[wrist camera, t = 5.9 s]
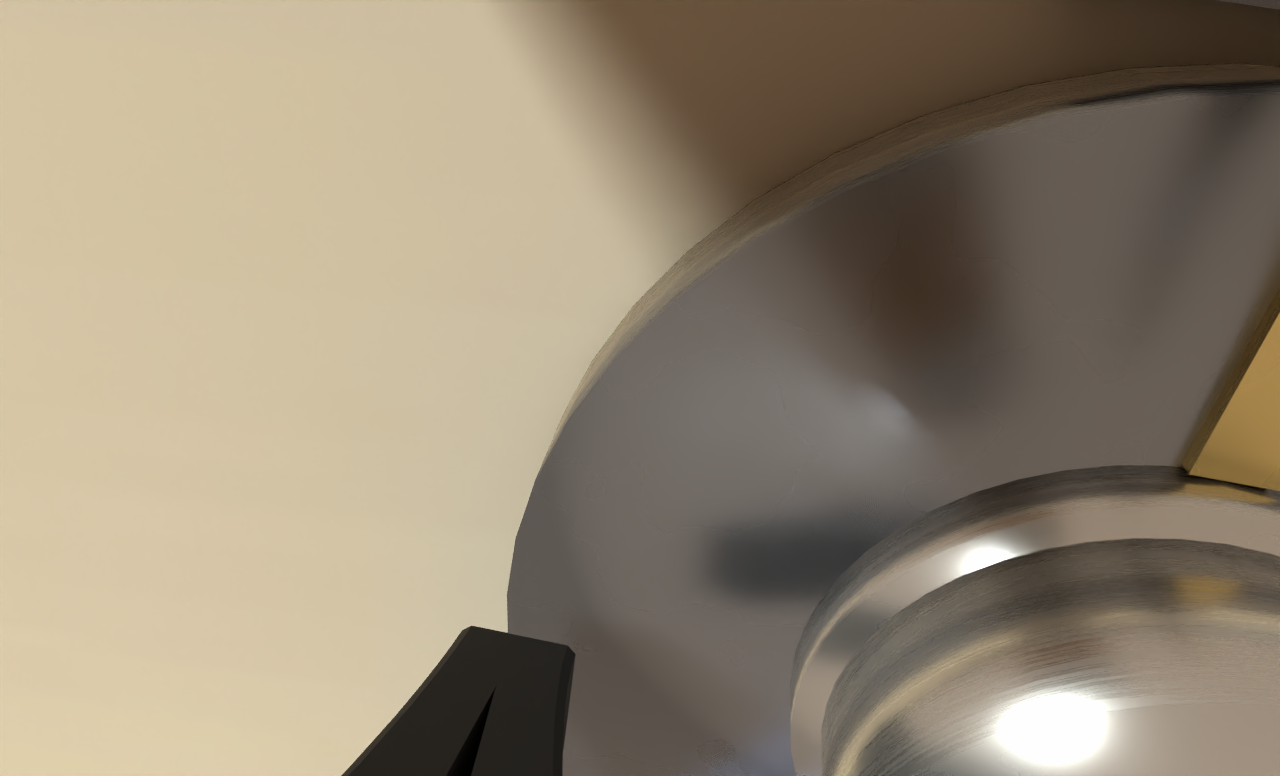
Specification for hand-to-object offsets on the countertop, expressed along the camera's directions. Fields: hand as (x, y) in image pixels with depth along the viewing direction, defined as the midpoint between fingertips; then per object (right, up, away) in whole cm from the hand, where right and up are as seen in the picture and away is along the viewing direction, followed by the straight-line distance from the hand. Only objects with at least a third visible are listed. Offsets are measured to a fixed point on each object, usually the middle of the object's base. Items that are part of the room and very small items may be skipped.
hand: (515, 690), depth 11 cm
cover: (+8, 0, +1) cm, 8 cm away
